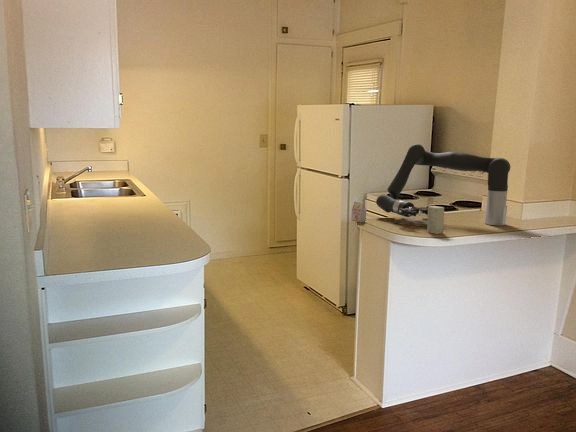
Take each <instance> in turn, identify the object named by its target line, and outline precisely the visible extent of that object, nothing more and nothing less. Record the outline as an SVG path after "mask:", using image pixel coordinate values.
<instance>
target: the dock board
mask: <svg viewBox="0 0 576 432" xmlns="http://www.w3.org/2000/svg"><path fill="white" fill-rule="evenodd" d="M393 221H394V223H395V224H399V223H402V224H401V225H406V224H409V225H408V226H413V225H415V227H420V226H422V227H421V228H427V225H428V217H422V219H418V218H412V217H401V218H399V219H395V220H393Z"/></svg>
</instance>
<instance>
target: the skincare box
mask: <svg viewBox="0 0 576 432" xmlns="http://www.w3.org/2000/svg"><path fill="white" fill-rule="evenodd" d="M427 208H428V215H427V218H428V225H427V227H426V228H427V230H426V232H427V233H431V234H435V235H439V234H444V223H445V222H444V219H445V217H444V216H445V207H444V206H436V205H430V206H428V207H427Z"/></svg>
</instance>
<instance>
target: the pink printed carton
mask: <svg viewBox="0 0 576 432" xmlns="http://www.w3.org/2000/svg"><path fill="white" fill-rule="evenodd" d="M351 221H352V222H356V223H361V224H362V223H365V222H364V221H366V222H367V208H366V206H365V202H363V201H362V202H361V201H357V200H355V201H354V202H353V205H352V208H351Z"/></svg>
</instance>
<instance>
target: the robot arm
mask: <svg viewBox="0 0 576 432" xmlns="http://www.w3.org/2000/svg"><path fill="white" fill-rule="evenodd" d="M415 165H416V166H425V167H427V166H428V167H436V168H442V169H449V170H454V171H461V172H482V173H485V174H486V173H487V194H486V207H485V218H484V223H485V224H486V225H489V226H499V227H502V226H504V225H506V223H507V213H508V212H507V211H508V205H507V201H508V200H507V197H508V188H509V185H508V182H509V172H510V171H511V163H510V162H509V160H507V159H505V158H503V157H485V156H484V157H483V156H478V155H474V154H470V153H464V152H458V151H447V152H440V153H439V152H438V153H437V152H431V151H426V150H425V147H424V146H423V145H422V144H419V143H415V144H413V145H412V144H411V146H410V147H409V148H408V149H407V152H406V154H405V156H404V159H403V161H402V164H401V165H400V168H399V169H398V171H397V173H396V175H395V176H394V178H393V179H392V181H391V182H390V183H389V185H388V187H387V189H386V190H387V193H388V194H389V195H386V194H380V195H379V196H378V197H377V198H376V200H375V202H376V204H375V205H377V207H378V208H379V209H381V210H383V211H384V212H386V213H389V214H390V213H393V214H397V215H399V216H402V217H404V218H411V217H416V216H417V215H419V216H423V215H427V216H428V207H424V206H423V207H422V206H421V207H419V206H416V205H414V203H413V202H411V201H407V200H400V199H399V197H400V194H401V193H402V192H403V190H404V188H405V186H406V185H407V182H408V179H409V178H410V175H411V172H412V170H413V168H414V166H415Z"/></svg>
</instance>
